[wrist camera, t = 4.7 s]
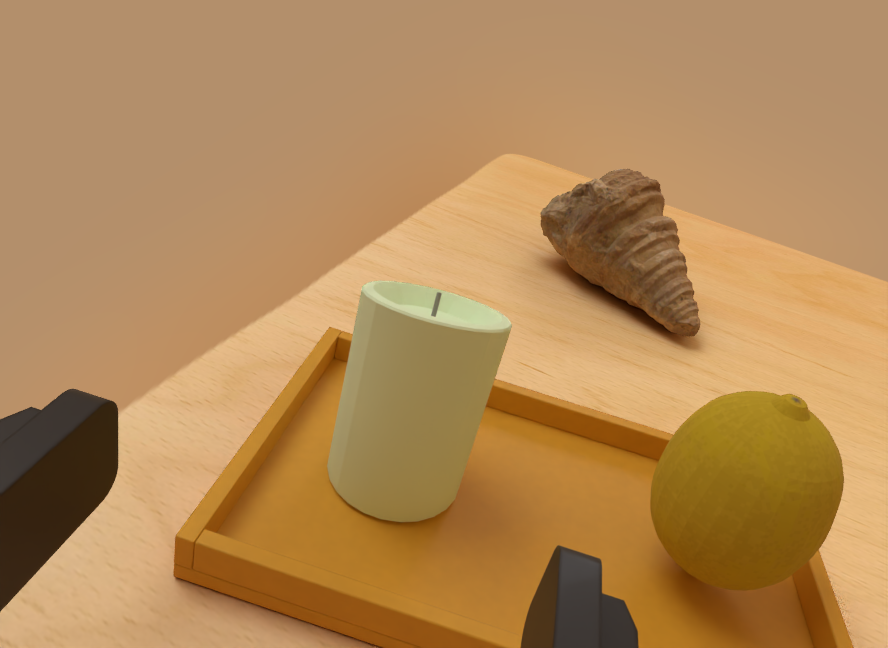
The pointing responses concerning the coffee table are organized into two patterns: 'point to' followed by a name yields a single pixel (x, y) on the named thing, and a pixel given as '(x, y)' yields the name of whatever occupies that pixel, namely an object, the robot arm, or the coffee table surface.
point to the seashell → (625, 245)
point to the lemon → (747, 490)
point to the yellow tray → (472, 533)
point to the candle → (412, 398)
